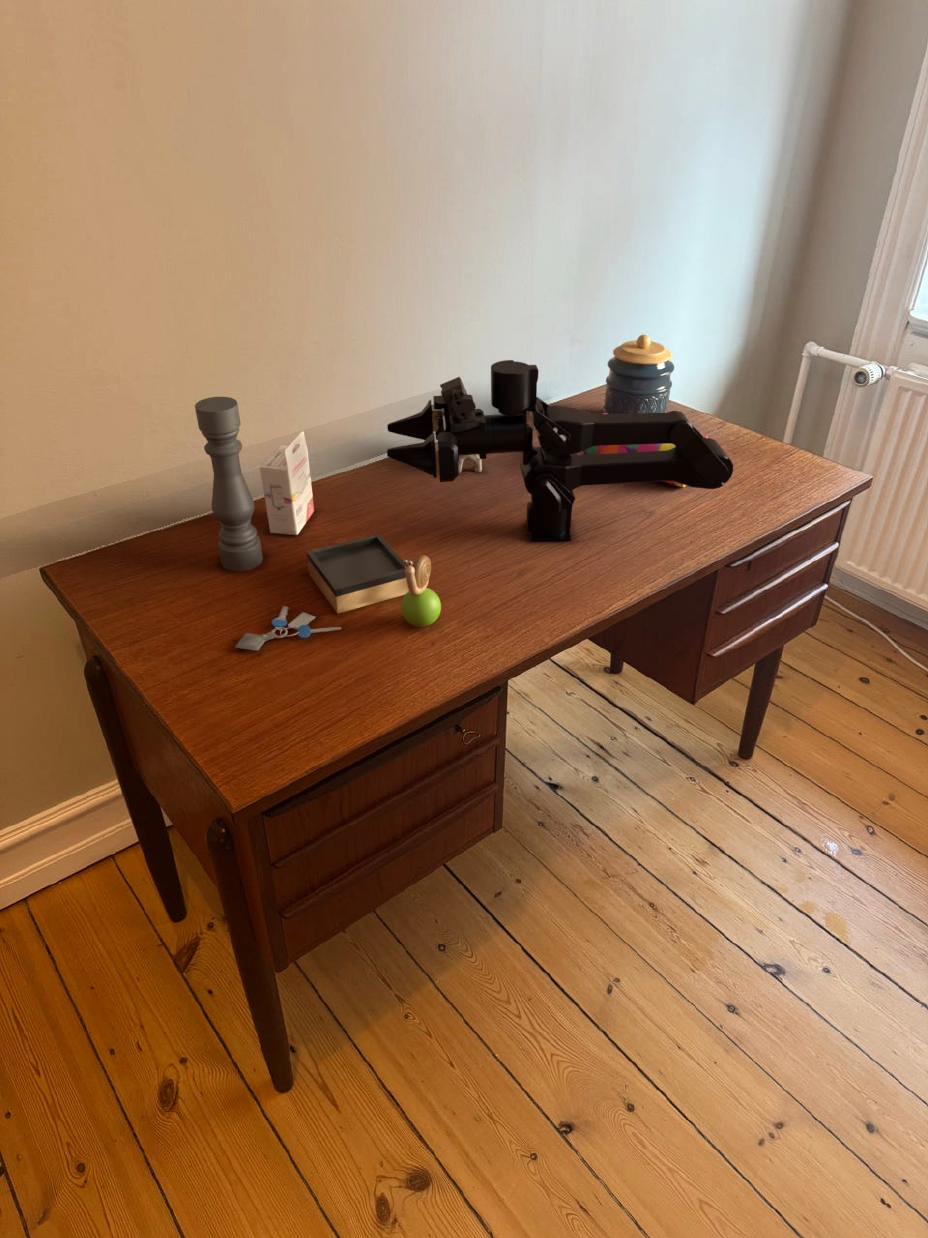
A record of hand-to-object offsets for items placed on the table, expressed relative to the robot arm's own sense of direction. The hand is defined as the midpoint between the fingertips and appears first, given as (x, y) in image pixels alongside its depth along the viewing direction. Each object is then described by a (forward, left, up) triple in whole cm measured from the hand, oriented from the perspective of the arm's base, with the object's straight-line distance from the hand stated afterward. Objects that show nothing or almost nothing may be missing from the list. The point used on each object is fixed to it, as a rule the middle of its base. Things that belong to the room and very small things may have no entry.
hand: (387, 439), depth 131 cm
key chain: (+14, +25, -17) cm, 33 cm away
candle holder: (+23, +7, -17) cm, 29 cm away
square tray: (+4, +14, -17) cm, 22 cm away
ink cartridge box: (+17, -5, -17) cm, 24 cm away
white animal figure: (-12, -28, -17) cm, 35 cm away
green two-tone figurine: (-5, +25, -17) cm, 30 cm away
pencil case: (-44, -23, -17) cm, 53 cm away
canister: (-47, -46, -17) cm, 68 cm away
